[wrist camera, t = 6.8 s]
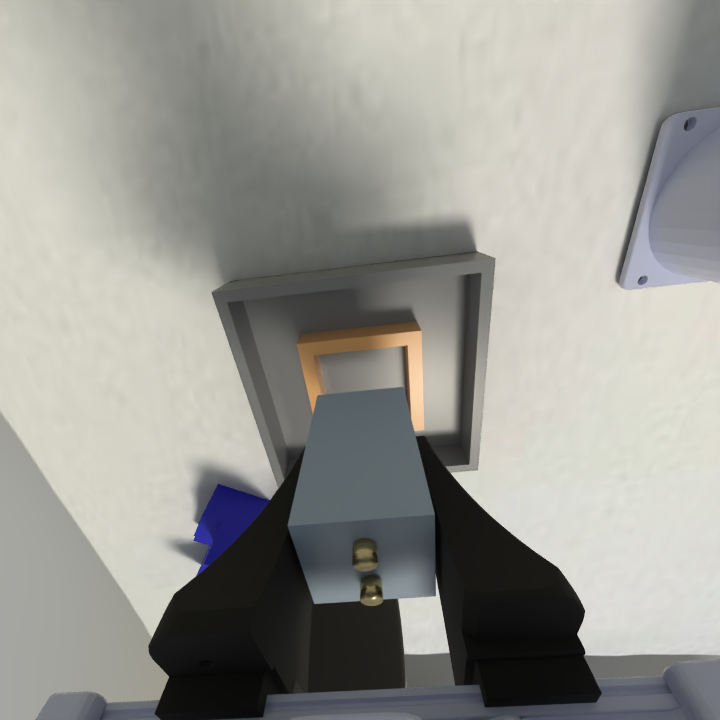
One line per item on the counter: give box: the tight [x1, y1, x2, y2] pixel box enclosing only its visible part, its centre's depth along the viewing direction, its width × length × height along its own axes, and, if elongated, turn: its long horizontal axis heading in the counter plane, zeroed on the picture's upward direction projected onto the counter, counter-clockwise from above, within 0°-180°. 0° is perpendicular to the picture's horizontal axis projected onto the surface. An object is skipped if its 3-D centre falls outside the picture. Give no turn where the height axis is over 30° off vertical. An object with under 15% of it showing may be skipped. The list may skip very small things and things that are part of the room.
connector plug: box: [288, 387, 436, 606], centre depth 12 cm, size 4×4×7 cm
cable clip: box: [194, 484, 269, 575], centre depth 25 cm, size 12×4×6 cm, turn 153°
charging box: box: [212, 252, 495, 487], centre depth 19 cm, size 14×14×2 cm
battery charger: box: [308, 598, 406, 693], centre depth 23 cm, size 7×4×11 cm, turn 82°
